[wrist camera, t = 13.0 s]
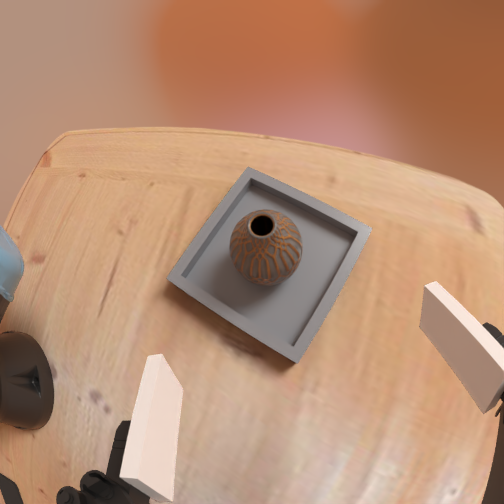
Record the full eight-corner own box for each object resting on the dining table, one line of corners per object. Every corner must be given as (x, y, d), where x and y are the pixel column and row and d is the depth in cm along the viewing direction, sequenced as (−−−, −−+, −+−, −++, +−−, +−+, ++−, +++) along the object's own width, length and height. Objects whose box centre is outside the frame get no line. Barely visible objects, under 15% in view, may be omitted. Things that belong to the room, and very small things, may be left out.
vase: (251, 302, 30) (237, 281, 22) (227, 245, 32) (207, 207, 24) (312, 275, 30) (321, 244, 22) (284, 221, 33) (282, 176, 24)
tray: (174, 284, 33) (166, 278, 30) (250, 178, 36) (247, 166, 34) (296, 363, 28) (297, 363, 26) (366, 237, 32) (372, 228, 30)
